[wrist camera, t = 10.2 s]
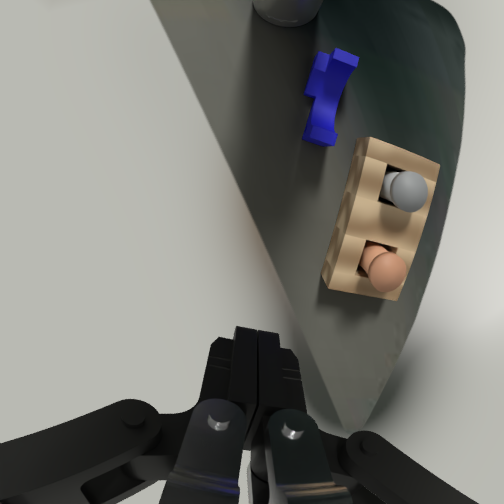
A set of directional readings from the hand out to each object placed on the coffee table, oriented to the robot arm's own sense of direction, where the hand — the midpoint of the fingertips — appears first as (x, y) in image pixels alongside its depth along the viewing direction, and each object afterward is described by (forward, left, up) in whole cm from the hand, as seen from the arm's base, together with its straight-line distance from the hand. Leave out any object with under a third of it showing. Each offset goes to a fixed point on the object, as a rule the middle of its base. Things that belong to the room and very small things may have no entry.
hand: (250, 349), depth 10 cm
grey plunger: (-7, +17, -30) cm, 35 cm away
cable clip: (-16, +5, -31) cm, 35 cm away
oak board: (-2, +17, -31) cm, 35 cm away
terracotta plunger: (+3, +17, -29) cm, 34 cm away
